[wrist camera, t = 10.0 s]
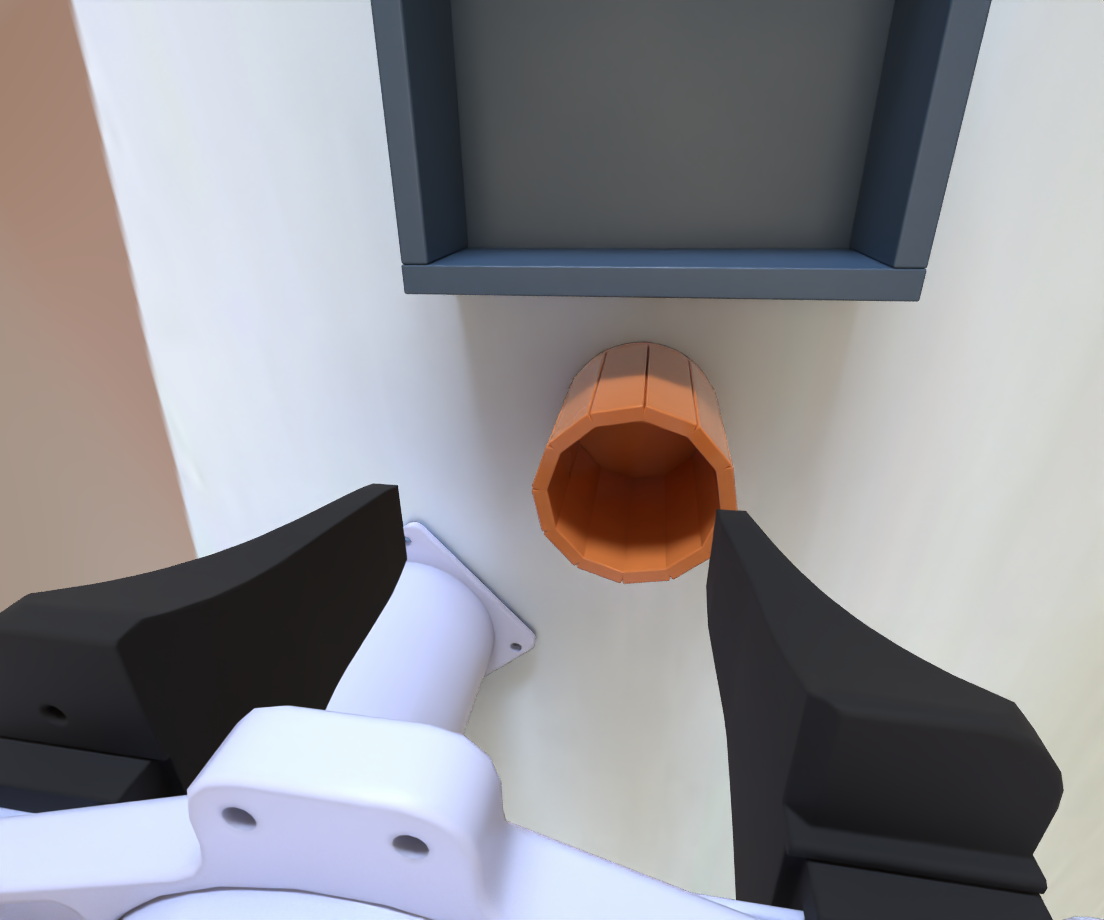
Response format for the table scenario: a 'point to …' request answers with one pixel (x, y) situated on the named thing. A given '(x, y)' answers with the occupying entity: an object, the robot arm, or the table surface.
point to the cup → (636, 466)
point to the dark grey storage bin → (673, 144)
